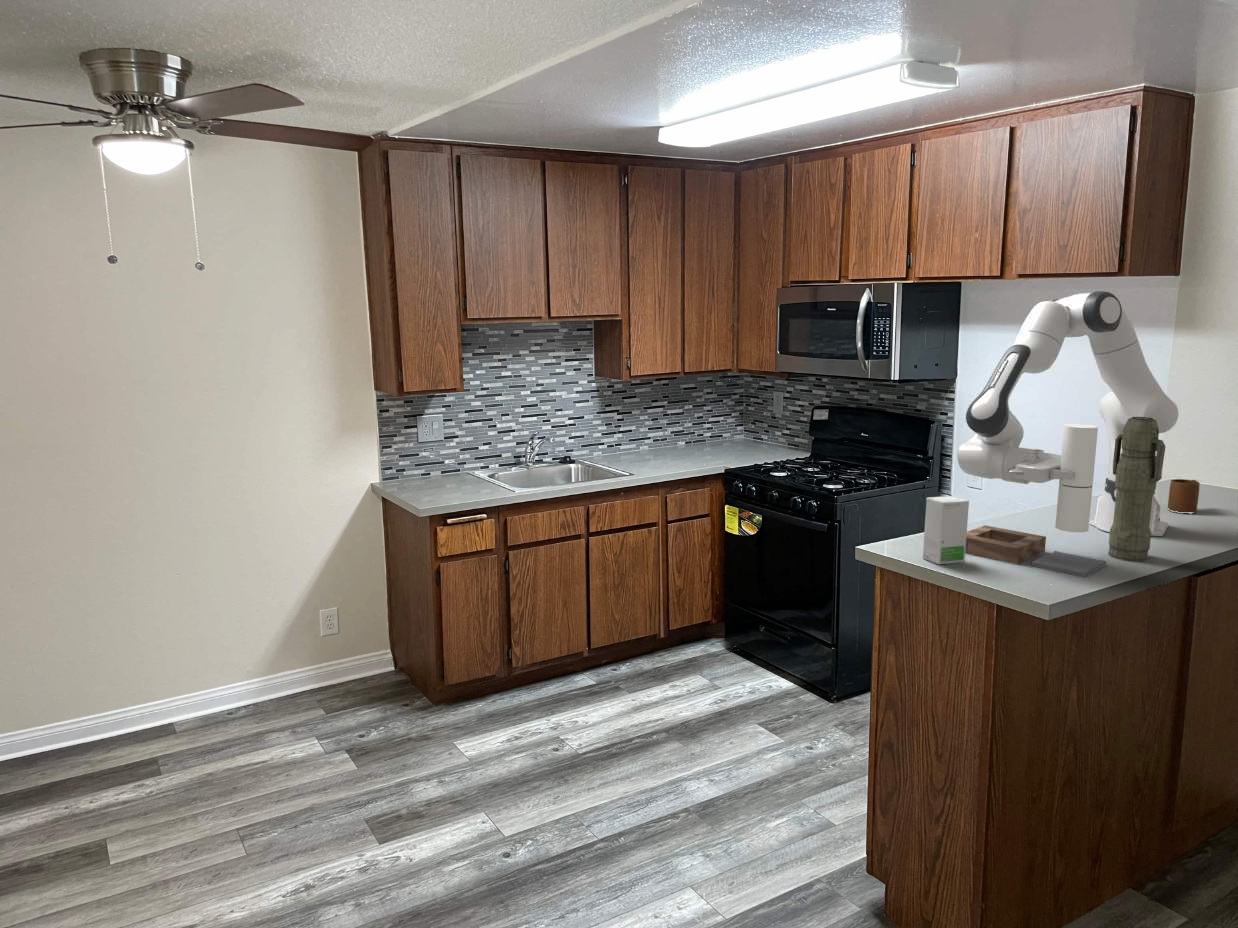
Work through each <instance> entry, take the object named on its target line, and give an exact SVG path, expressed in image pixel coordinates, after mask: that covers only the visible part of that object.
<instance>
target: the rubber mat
mask: <svg viewBox="0 0 1238 928" xmlns="http://www.w3.org/2000/svg"><path fill="white" fill-rule="evenodd" d="M1106 565H1107V560H1103V559H1098V558H1093V557H1087V556H1083V555H1077V554H1072V553H1069V552H1068V553H1067V552H1063V551H1057V550H1056V551H1052V552H1051V553H1048V554H1047V555H1044V556H1042V557H1040V558H1038V559H1035V560H1033V561H1031V566H1032V567H1034V566H1036V568H1040V569H1044V570H1045V569H1046V570H1049V571H1054V572H1059V573H1064V574H1069V575H1072V576H1077V577H1082V578H1084V577H1086V576H1088V575H1089V574H1091V573H1094V572H1096V571H1097V570H1100V569H1101V568H1104V567H1105V566H1106Z"/></svg>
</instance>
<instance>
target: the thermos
mask: <svg viewBox="0 0 1238 928" xmlns="http://www.w3.org/2000/svg"><path fill="white" fill-rule="evenodd" d="M1159 434H1160V433H1159V429H1158V425H1157V421H1156V420H1153V418H1148V417H1131V418H1129V419H1128V420H1127V422H1126V424H1125V427H1124V429H1123V434H1121V435H1119V436H1118V437H1117V438H1116V439H1115V449H1114V459H1113V474H1114V475H1116V476H1115V477H1116V479H1115V487H1116V490H1117V491H1116V501H1115V510H1114V520H1113V525H1112V526H1111V528H1110V532H1109V537H1108V546H1109V547H1108V552H1107V553H1108V556H1109V557H1110V558H1114V559H1117V560H1121V561H1128V562H1145V561H1147V560H1148V559H1149V551H1150V547H1151V539H1152V538H1151V537H1152V536H1151V531H1150V528H1149V526H1150V516H1151V507H1152V498H1153V492H1154V491H1155V492H1156V488H1157V483H1158V482H1159V481H1161V480H1162V475H1163V468H1164V467H1163V466H1164V459H1165V452H1166V445H1165V442H1164V441H1163V439H1159ZM1121 443H1122V454H1121V457H1120V453H1121ZM1156 482H1157V483H1156Z"/></svg>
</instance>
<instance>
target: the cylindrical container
mask: <svg viewBox="0 0 1238 928" xmlns="http://www.w3.org/2000/svg"><path fill="white" fill-rule="evenodd" d="M1098 431H1099V426H1098V425H1095V424H1088V423H1064V425H1063V435H1062V447H1061V448H1062V449H1061V455H1062V457H1061V468H1060V471H1072V472H1074V473H1075V475H1074V476H1075V477H1074V479H1072V480H1067V479H1058V480H1059V482H1058V495H1057V504H1056V516H1055V527H1054V528H1055V529H1057V530H1059V531H1063V532H1071V533H1086V532H1088V531H1089V526H1090V524H1089V522H1090V517H1091V516H1090V515H1091V507H1092V505H1091V504H1092V496H1093V484H1094V483H1093V482H1094V474H1095V473H1094V472H1095V462H1096V451H1097V443H1098V442H1097V441H1098V434H1099V433H1098Z"/></svg>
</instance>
